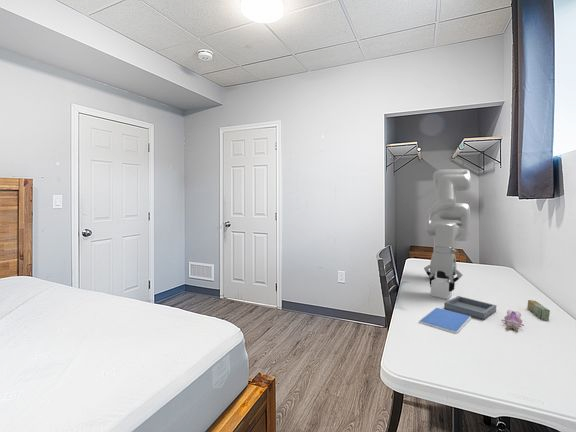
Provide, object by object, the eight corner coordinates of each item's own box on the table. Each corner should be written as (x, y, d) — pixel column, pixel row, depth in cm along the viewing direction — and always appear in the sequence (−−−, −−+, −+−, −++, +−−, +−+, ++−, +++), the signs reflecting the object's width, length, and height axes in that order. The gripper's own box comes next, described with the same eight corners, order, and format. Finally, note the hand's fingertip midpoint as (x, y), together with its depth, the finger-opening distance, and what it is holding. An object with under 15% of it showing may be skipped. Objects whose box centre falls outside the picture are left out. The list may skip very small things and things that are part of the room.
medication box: (549, 321, 111) (550, 310, 111) (540, 319, 112) (541, 309, 112) (534, 309, 122) (535, 300, 122) (526, 308, 123) (527, 299, 123)
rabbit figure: (523, 338, 99) (524, 317, 110) (524, 321, 98) (525, 302, 109) (500, 332, 103) (503, 313, 114) (501, 316, 102) (504, 298, 113)
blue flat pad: (457, 336, 97) (457, 332, 97) (417, 324, 106) (417, 320, 106) (471, 319, 111) (471, 316, 111) (435, 310, 120) (435, 306, 120)
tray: (458, 301, 129) (458, 295, 129) (496, 311, 119) (496, 305, 118) (444, 308, 120) (444, 302, 120) (483, 320, 110) (484, 313, 109)
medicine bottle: (452, 295, 137) (453, 270, 136) (447, 299, 132) (448, 272, 131) (435, 292, 142) (436, 267, 141) (430, 295, 136) (431, 269, 136)
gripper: (468, 252, 131) (465, 291, 132) (428, 246, 144) (426, 282, 145) (461, 254, 126) (458, 295, 127) (420, 248, 140) (418, 285, 141)
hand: (441, 288), depth 136 cm, fingers closed on medicine bottle, 7 cm apart
